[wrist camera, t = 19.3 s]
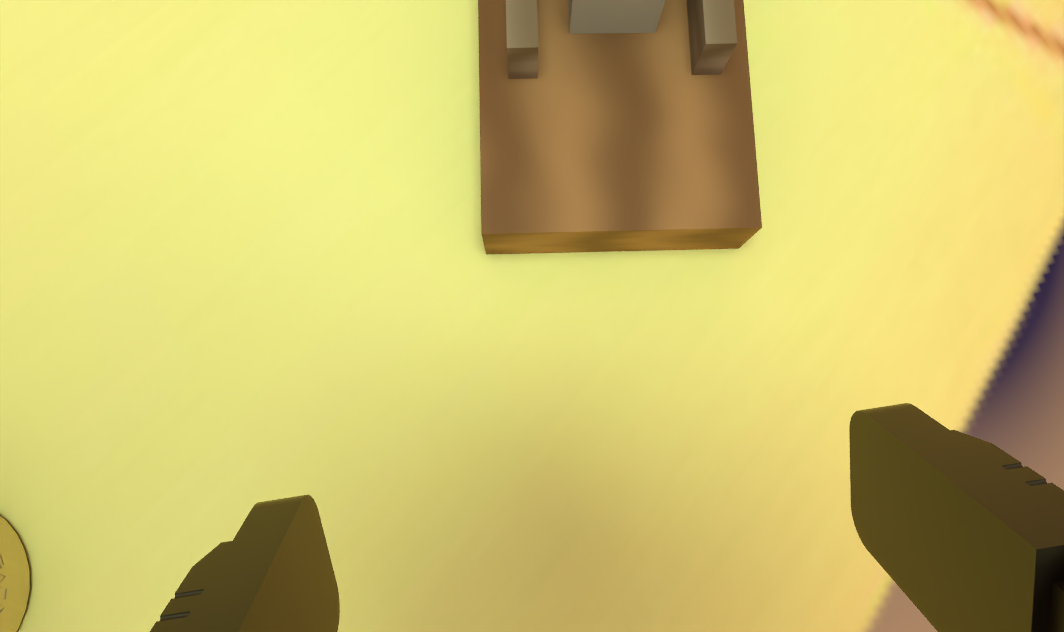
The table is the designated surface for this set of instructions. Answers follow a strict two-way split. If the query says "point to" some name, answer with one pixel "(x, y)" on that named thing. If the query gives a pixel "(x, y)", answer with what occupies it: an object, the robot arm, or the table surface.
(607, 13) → the slate post
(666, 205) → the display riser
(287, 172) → the table surface
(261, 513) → the robot arm
